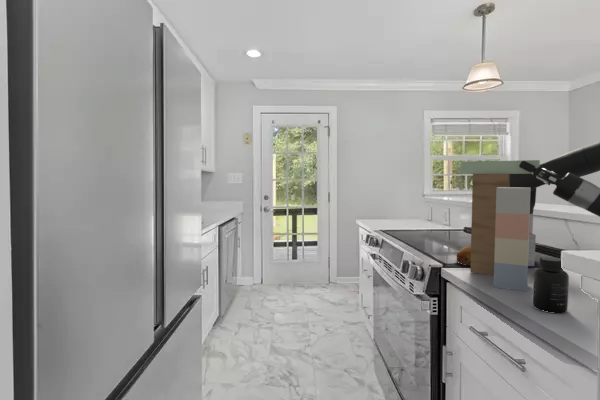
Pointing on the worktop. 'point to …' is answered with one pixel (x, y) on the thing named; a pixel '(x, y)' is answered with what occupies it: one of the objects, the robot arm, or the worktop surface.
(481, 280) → the worktop surface
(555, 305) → the supplement bottle
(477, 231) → the walnut stand
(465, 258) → the bread roll
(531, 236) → the supplement box
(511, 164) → the long brick
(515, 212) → the brick tower
